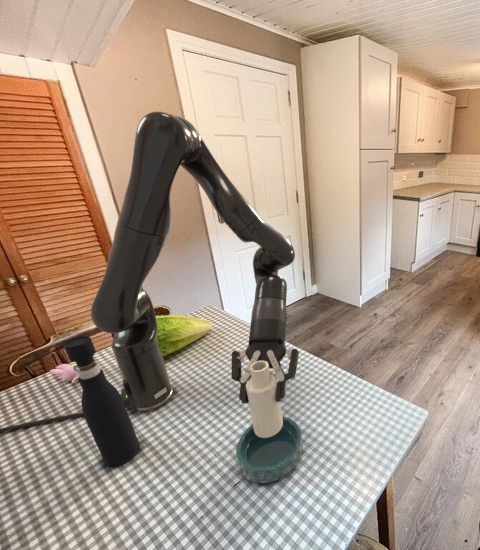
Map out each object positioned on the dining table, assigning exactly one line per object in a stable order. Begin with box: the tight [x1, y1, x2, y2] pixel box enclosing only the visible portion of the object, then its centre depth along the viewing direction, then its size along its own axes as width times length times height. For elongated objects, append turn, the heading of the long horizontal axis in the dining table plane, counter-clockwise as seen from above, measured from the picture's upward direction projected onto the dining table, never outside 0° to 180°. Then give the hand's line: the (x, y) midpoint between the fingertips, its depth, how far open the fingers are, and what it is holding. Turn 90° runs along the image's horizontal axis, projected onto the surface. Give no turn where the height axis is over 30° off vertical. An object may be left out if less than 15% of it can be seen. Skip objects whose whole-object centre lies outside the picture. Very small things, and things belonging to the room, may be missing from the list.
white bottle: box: [246, 361, 283, 438], centre depth 63 cm, size 6×6×16 cm
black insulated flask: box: [63, 335, 141, 468], centre depth 63 cm, size 6×6×30 cm
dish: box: [235, 415, 303, 484], centre depth 67 cm, size 14×14×4 cm
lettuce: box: [155, 314, 213, 358], centre depth 106 cm, size 14×23×14 cm
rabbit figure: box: [49, 363, 79, 384], centre depth 90 cm, size 6×6×15 cm
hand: (262, 402), depth 61 cm, fingers closed on white bottle, 6 cm apart
